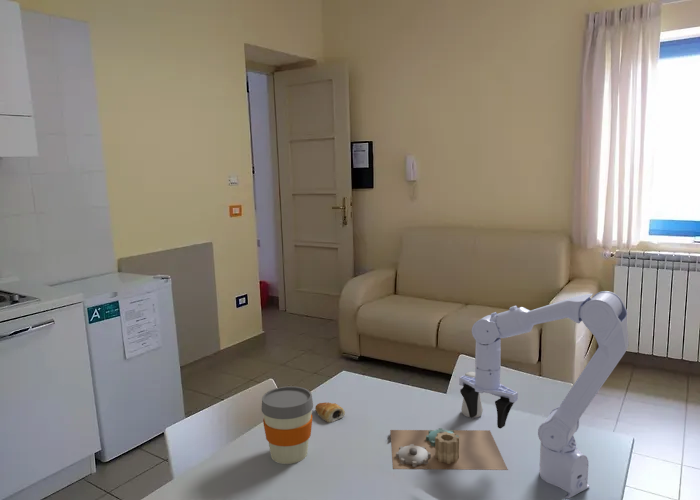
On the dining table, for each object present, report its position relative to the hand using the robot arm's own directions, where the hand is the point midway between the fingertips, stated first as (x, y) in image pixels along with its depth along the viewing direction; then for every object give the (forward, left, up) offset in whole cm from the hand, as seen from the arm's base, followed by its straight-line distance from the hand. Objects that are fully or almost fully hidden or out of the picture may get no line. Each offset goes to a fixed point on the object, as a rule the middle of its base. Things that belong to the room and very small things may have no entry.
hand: (486, 421), depth 122 cm
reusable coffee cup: (+28, +39, -10) cm, 49 cm away
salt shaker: (+17, -12, -10) cm, 23 cm away
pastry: (+40, +21, -10) cm, 46 cm away
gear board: (+7, +7, -9) cm, 14 cm away
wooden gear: (+4, +9, -8) cm, 13 cm away
